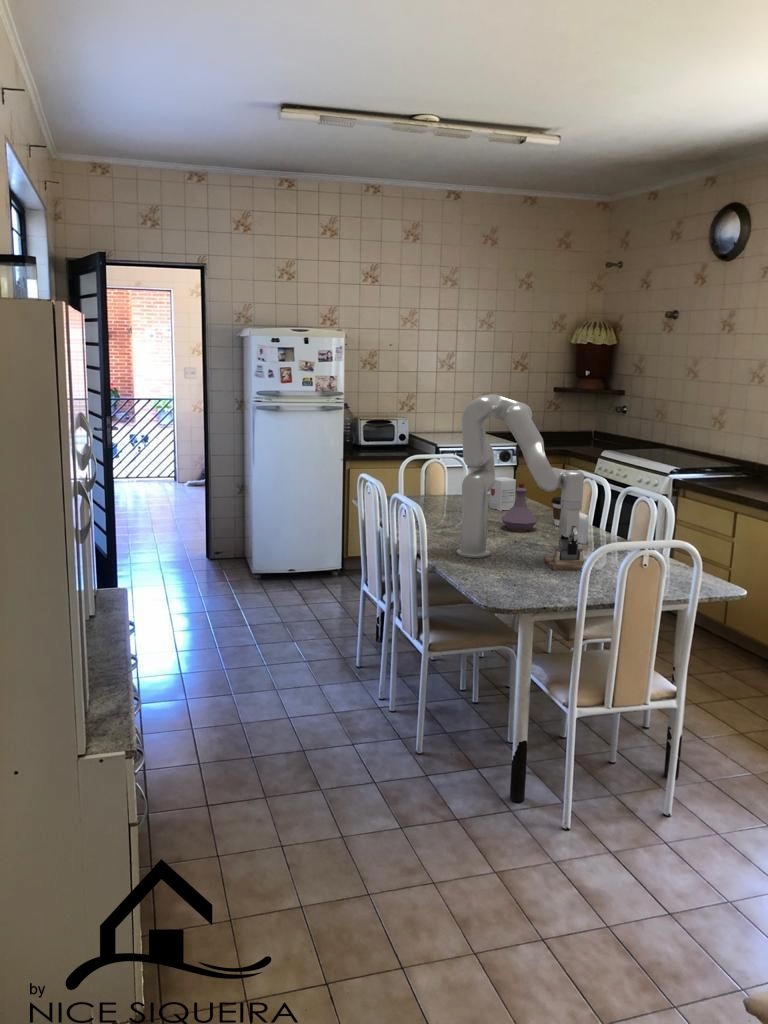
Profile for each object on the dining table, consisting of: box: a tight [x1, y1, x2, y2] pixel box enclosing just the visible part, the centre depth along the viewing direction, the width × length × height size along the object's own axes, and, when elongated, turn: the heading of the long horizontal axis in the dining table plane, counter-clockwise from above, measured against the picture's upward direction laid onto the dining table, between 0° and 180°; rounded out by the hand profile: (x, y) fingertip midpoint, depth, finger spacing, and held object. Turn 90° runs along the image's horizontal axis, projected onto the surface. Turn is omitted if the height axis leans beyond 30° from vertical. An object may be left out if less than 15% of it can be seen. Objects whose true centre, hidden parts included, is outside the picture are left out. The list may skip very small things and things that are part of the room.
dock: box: [543, 547, 585, 571], centre depth 296 cm, size 14×14×6 cm
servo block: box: [553, 538, 584, 560], centre depth 295 cm, size 4×10×9 cm, turn 94°
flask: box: [500, 482, 538, 532], centre depth 350 cm, size 16×16×20 cm
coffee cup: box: [550, 496, 561, 527], centre depth 359 cm, size 11×11×12 cm
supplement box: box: [488, 476, 517, 512], centre depth 391 cm, size 9×9×15 cm
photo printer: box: [577, 511, 590, 545], centre depth 330 cm, size 10×4×12 cm, turn 56°
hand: (568, 551), depth 295 cm, fingers open, 9 cm apart
